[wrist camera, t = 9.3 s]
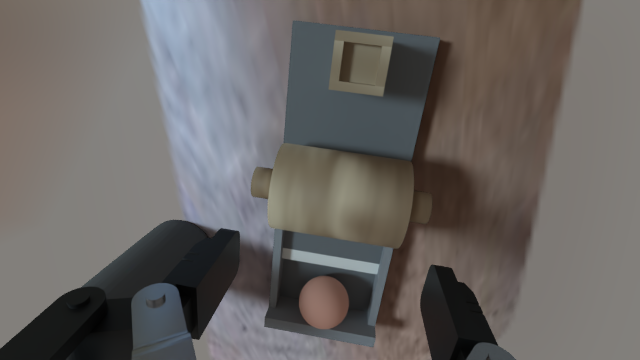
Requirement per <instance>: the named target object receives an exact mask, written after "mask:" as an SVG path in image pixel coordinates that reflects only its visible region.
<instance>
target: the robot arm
mask: <svg viewBox="0 0 640 360" xmlns="http://www.w3.org/2000/svg"><path fill="white" fill-rule="evenodd" d="M239 250H240V233H239V231H234V230H229V229H223V228H221V229H220V230H219V231H218V232H217V233H216V234H215V236H214V237H213V238H212V239H210V238H205V239H203V240H201V241H200V242H198V243H196V244H195V245H194V246H193V247H192V248H191V249H190V251H189V252H188V253H187V254H186V255H185V256H184V257H183V259H182V260H181V261H180V262H179V263H178V264H177V265H176V266H175V268H174V269H173V270H172V271H171V272H170V273H169V274H168V276H167V277H166V278H165V279H164V280H163V281H162V282H161V283H157V284H153V285H149V286H147V287H145V288H143V289H141V290H140V291H139V292H137V293H136V294H135V296H134V297H131V298H118V299H106V294H105V291H104V290H103V289H101V288H99V287H82V288H78V289H75V290H72V291H70V292H68V293H66V294H64V295H62V296H61V297H59V298H58V299H57V300H56V301H55V302H53V303H52V304H51V305H50V306H49V307H48V308H47V309H45V310H44V311H43V312H42V313H41V314H40V315H39V316H38V317H36V318H35V319H34V320H33V321H32V322H31V323H30V324H28V325H27V326H26V327H25V328H24V329H22V330H21V331H20V332H19V333H18V334H17V335H16V336H14V337H13V338H12V339H11V340H10V341H9V342H8V343H6V344H5V345H4V346H3V347H2V348H1V349H0V360H196V356H195V351H194V347H193V342H192V339H198V340H199V339H200V337H201V335H202V333H203V332H204V330H205V328H206V327H207V325H208V323H209V321H210V320H211V318H212V316H213V314H214V313H215V311H216V309H217V307H218V306H219V304H220V302H221V300H222V299H223V297H224V295H225V293H226V292H227V290H228V288H229V286H230V285H231V283H232V281H233V279H234V278H235V276H236V273H237V271H238V267H239ZM420 308H421V313H422V318H423V322H424V327H425V331H426V335H427V340H428V344H429V349H430V353H431V357H432V360H516V359H515V358H514V357H513V356H512V355H511V354H510V353H509V352H507V351H506V350H504V349H503V348H501V347H499V346H498V344H497V342H496V340H495V338H494V335H493V333H492V331H491V329H490V327H489V325H488V323H487V320H486V318H485V316H484V315H483V312H482V310H481V308H480V306H479V303H478V301H477V299H476V297H475V295H474V293H473V292H472V291H471V290H470V289H469V288H468V286H467V285H466V284H465V283H462V282H458V281H457V279H456V277H455V274H454V272H453V270H452V268H449V267H443V266H438V265H431V266H430V268H429V271H428V274H427V278H426V281H425V284H424V287H423V291H422V294H421V300H420Z"/></svg>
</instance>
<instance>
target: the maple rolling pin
mask: <svg viewBox="0 0 640 360" xmlns="http://www.w3.org/2000/svg"><path fill="white" fill-rule="evenodd" d="M251 194H252V196H253V197H259V198H265V199H268V223H269V226H270V227H271V228H275V229H281V230H287V231H293V232H299V233H305V234H311V235H317V236H323V237H329V238H335V239H341V240H347V241H353V242H359V243H365V244H371V245H377V246H383V247H389V248H395V249H398V248H399V247H400V246H401V244H402V243H403V240H404V238H405V235H406V232H407V228H408V224H409V222H415V223H421V224H427V223H428V221H429V219H430V216H431V211H432V195H431V193H427V192H421V191H414V171H413V165H412V163H411V162H410V161H406V160H399V159H392V158H385V157H378V156H372V155H365V154H358V153H351V152H344V151H337V150H331V149H324V148H317V147H310V146H303V145H296V144H290V143H283V144H282V146H281V147H280V149H279V151H278V154H277V157H276V160H275V163H274V167H273V169H270V168H263V167H256V169H255V171H254V173H253V177H252V182H251Z"/></svg>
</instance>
